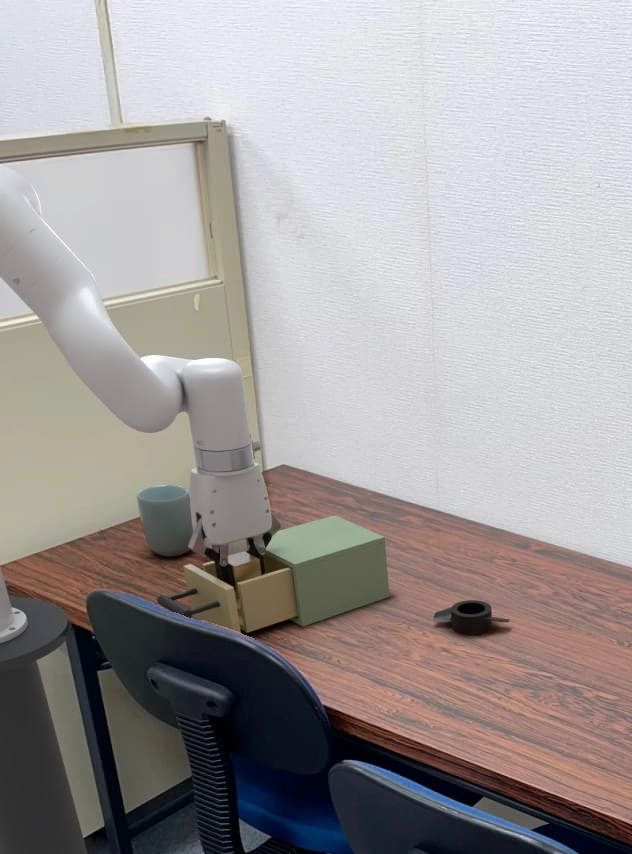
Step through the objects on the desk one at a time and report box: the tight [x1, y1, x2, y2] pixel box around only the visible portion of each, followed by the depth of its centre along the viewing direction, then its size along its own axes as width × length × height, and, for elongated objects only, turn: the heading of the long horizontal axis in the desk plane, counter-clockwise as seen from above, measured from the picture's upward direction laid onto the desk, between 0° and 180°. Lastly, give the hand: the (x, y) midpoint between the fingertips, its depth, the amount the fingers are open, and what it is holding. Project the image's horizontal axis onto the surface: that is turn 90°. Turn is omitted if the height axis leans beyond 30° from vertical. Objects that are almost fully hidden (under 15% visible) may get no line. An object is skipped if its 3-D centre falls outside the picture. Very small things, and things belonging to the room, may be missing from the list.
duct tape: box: [433, 599, 511, 637], centre depth 172 cm, size 8×10×3 cm
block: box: [228, 551, 261, 593], centre depth 168 cm, size 4×4×4 cm
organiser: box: [247, 514, 390, 628], centre depth 177 cm, size 16×13×10 cm
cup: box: [136, 484, 193, 558], centre depth 192 cm, size 8×8×10 cm
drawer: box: [156, 554, 298, 634], centre depth 169 cm, size 20×11×8 cm, turn 136°
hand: (242, 583), depth 169 cm, fingers closed on block, 4 cm apart
